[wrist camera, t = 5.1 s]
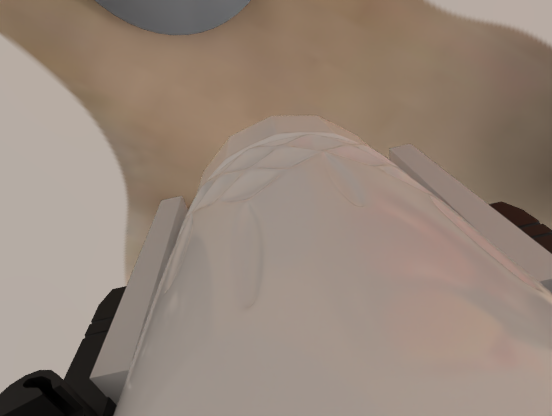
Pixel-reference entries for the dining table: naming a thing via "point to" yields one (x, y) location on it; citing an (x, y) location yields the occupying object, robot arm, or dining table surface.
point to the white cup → (335, 294)
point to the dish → (174, 14)
